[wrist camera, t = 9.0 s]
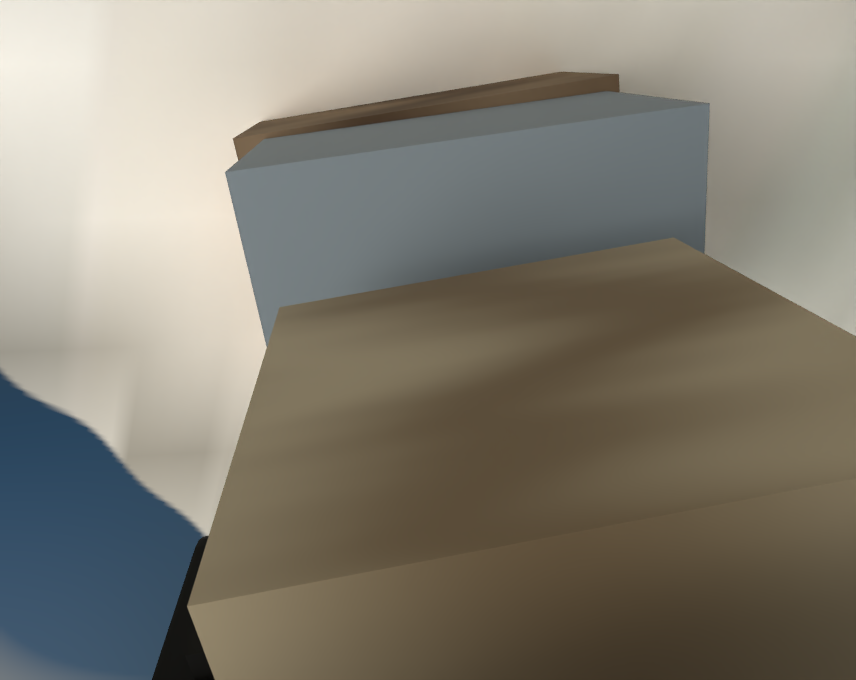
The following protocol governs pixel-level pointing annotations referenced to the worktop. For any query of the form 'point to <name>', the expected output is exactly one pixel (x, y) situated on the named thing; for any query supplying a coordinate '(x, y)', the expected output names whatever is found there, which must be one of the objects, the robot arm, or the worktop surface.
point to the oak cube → (543, 483)
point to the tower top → (466, 193)
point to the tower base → (432, 105)
